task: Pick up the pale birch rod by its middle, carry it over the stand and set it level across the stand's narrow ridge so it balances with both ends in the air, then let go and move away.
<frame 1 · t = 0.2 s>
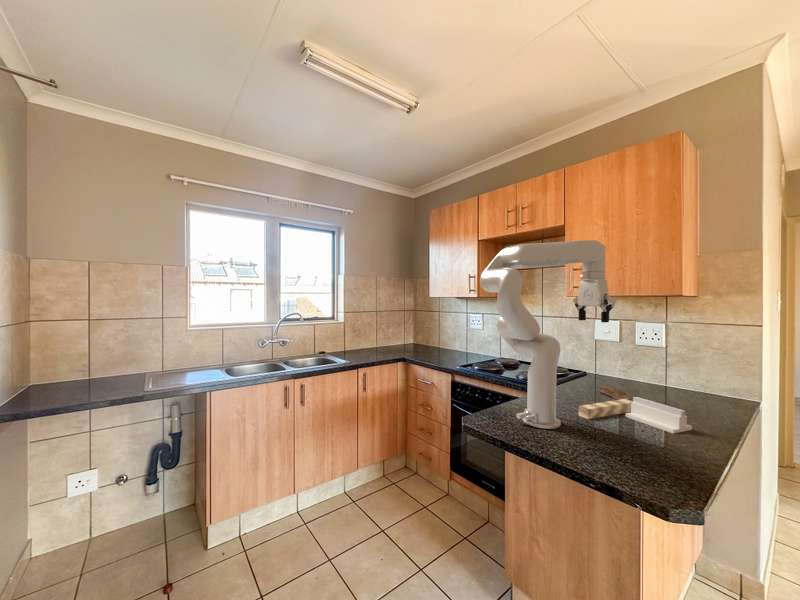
hand: (593, 321, 125), 36 cm above the countertop, tool pointing down, fingers open, 9 cm apart
ridge stand: (657, 422, 118), on the countertop
wooden fragment: (611, 393, 155), on the countertop
birch rod: (607, 414, 127), on the countertop
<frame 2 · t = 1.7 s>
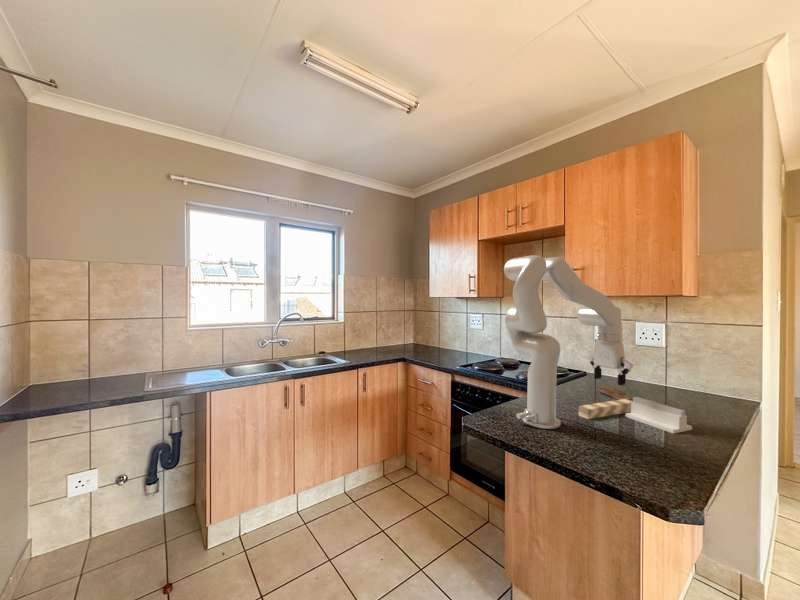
hand: (609, 381, 127), 12 cm above the countertop, tool pointing down, fingers open, 9 cm apart
nothing on the countertop moved.
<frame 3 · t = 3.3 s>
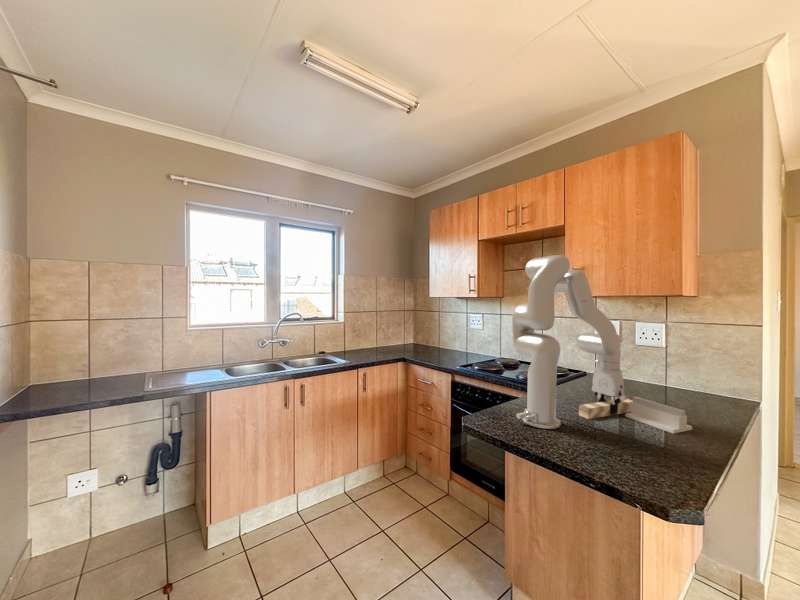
hand: (607, 411, 127), 1 cm above the countertop, tool pointing down, fingers closed on birch rod, 4 cm apart
birch rod: (607, 413, 127), on the countertop, touching gripper
everything else where it was.
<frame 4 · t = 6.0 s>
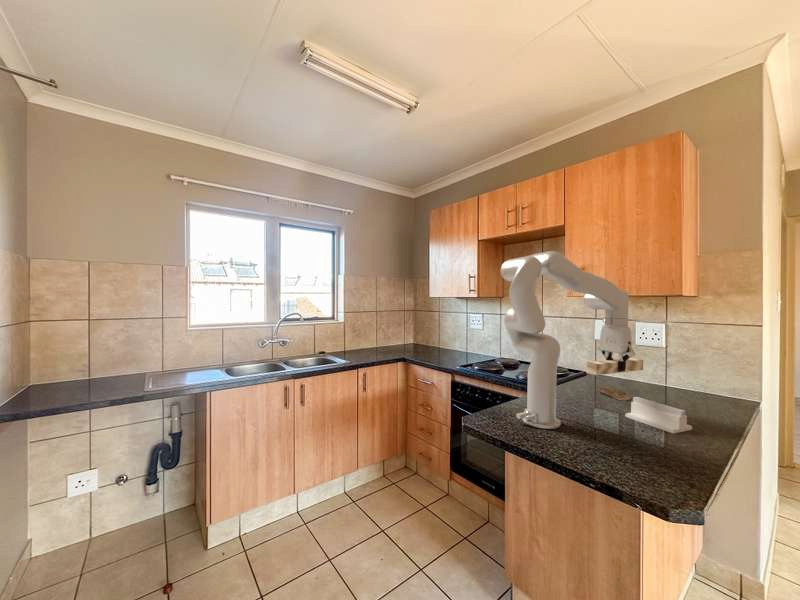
hand: (615, 369, 126), 17 cm above the countertop, tool pointing down, fingers closed on birch rod, 4 cm apart
birch rod: (615, 371, 126), point 17 cm above the countertop, touching gripper
everything else where it was.
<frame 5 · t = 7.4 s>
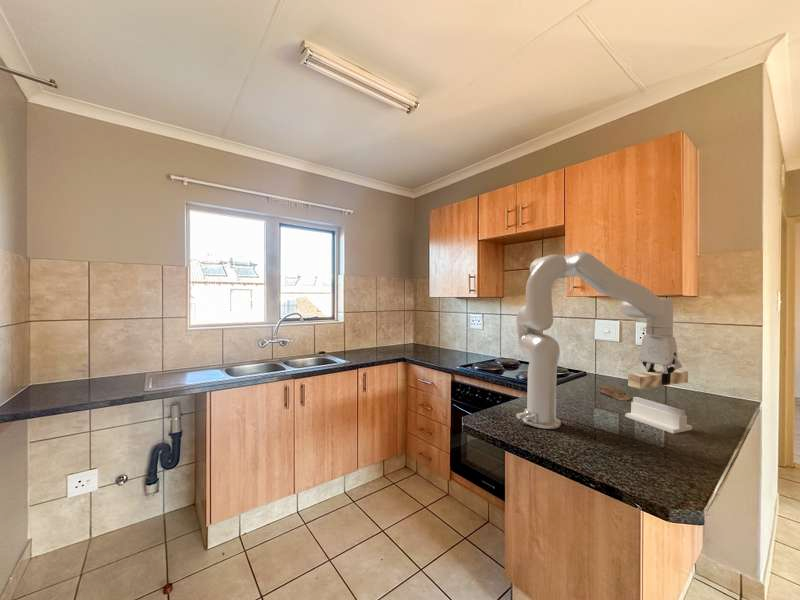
hand: (658, 382, 118), 15 cm above the countertop, tool pointing down, fingers closed on birch rod, 4 cm apart
birch rod: (658, 384, 118), point 14 cm above the countertop, touching gripper
everything else where it was.
when the fingers open (8 cm above the countertop, at t = 8.7 s): birch rod stays where it is, resting on ridge stand.
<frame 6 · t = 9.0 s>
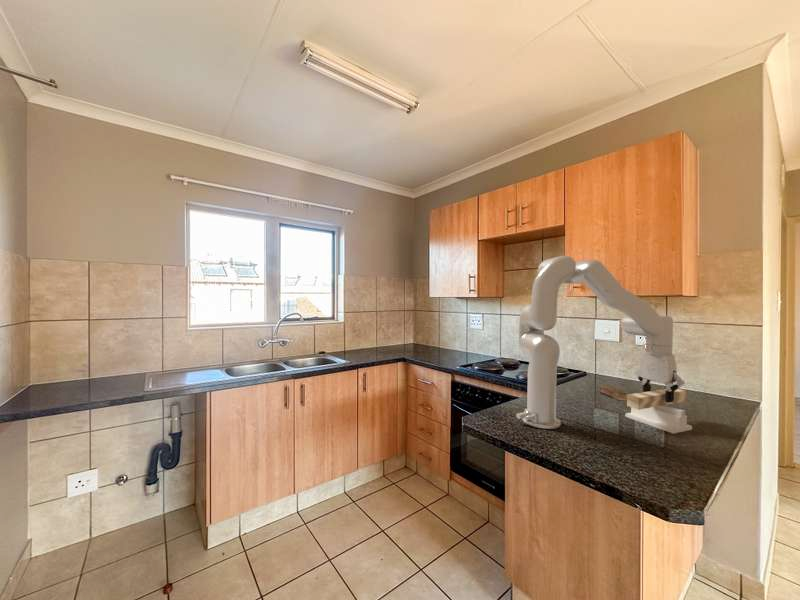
hand: (657, 398, 118), 9 cm above the countertop, tool pointing down, fingers open, 6 cm apart
birch rod: (657, 403, 118), point 7 cm above the countertop, touching ridge stand
everything else where it was.
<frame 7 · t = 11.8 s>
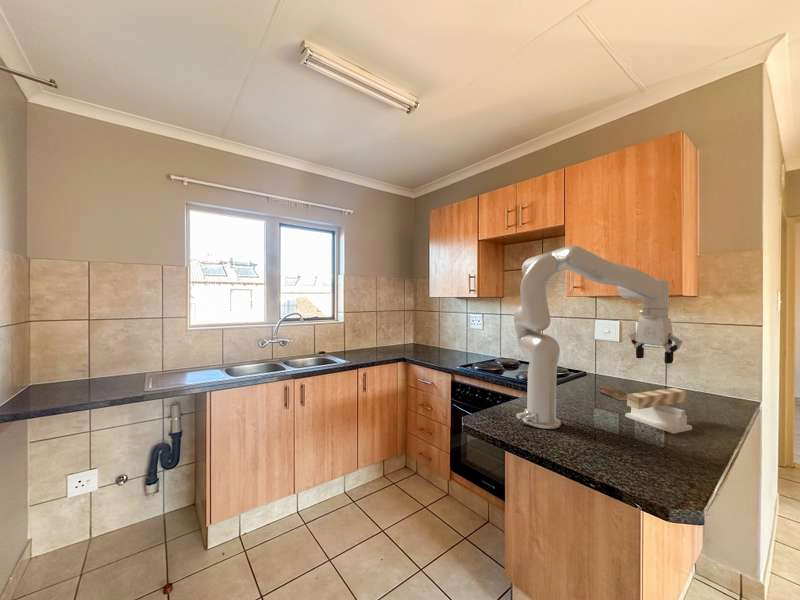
hand: (653, 360, 118), 22 cm above the countertop, tool pointing down, fingers open, 9 cm apart
nothing on the countertop moved.
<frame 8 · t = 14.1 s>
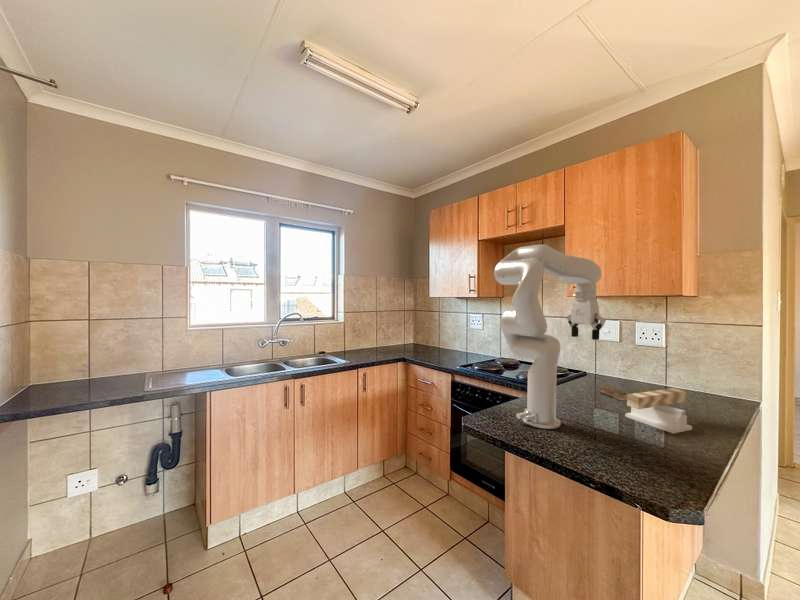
hand: (584, 338, 135), 28 cm above the countertop, tool pointing down, fingers open, 9 cm apart
nothing on the countertop moved.
at the end: birch rod 0.0 cm off-centre on the ridge stand, point 7.0 cm above the ridge stand's base; birch rod tilted 0°; birch rod touching ridge stand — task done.
